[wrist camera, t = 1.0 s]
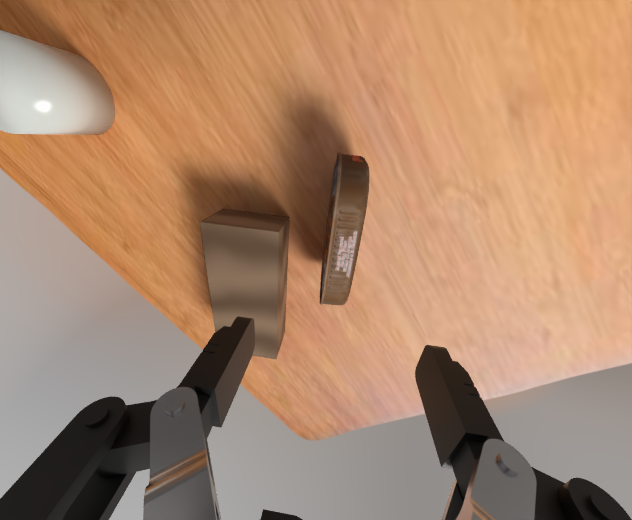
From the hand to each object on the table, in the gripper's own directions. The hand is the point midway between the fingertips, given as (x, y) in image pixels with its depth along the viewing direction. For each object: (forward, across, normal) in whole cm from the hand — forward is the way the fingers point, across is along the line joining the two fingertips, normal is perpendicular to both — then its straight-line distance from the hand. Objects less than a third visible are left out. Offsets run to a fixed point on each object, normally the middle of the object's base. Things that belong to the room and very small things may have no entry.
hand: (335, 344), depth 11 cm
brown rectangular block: (+18, +10, +9) cm, 22 cm away
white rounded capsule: (+18, +28, -10) cm, 35 cm away
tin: (+18, 0, 0) cm, 18 cm away
